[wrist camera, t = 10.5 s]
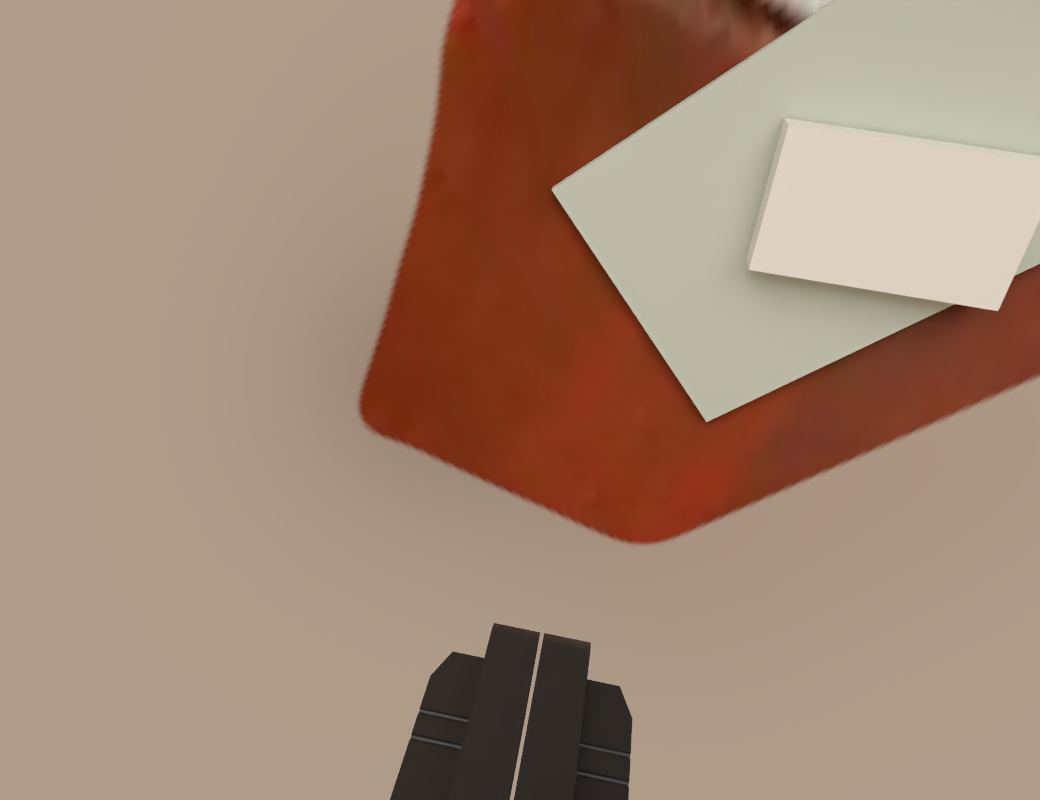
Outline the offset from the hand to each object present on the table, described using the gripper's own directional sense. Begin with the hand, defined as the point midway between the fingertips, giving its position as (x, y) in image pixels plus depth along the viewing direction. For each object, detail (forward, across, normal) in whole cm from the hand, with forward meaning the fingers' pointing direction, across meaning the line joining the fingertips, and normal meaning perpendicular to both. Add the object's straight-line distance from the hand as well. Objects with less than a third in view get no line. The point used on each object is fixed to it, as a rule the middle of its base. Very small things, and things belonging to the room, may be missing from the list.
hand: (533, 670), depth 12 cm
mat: (+33, -11, 0) cm, 35 cm away
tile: (+31, -7, 0) cm, 32 cm away
